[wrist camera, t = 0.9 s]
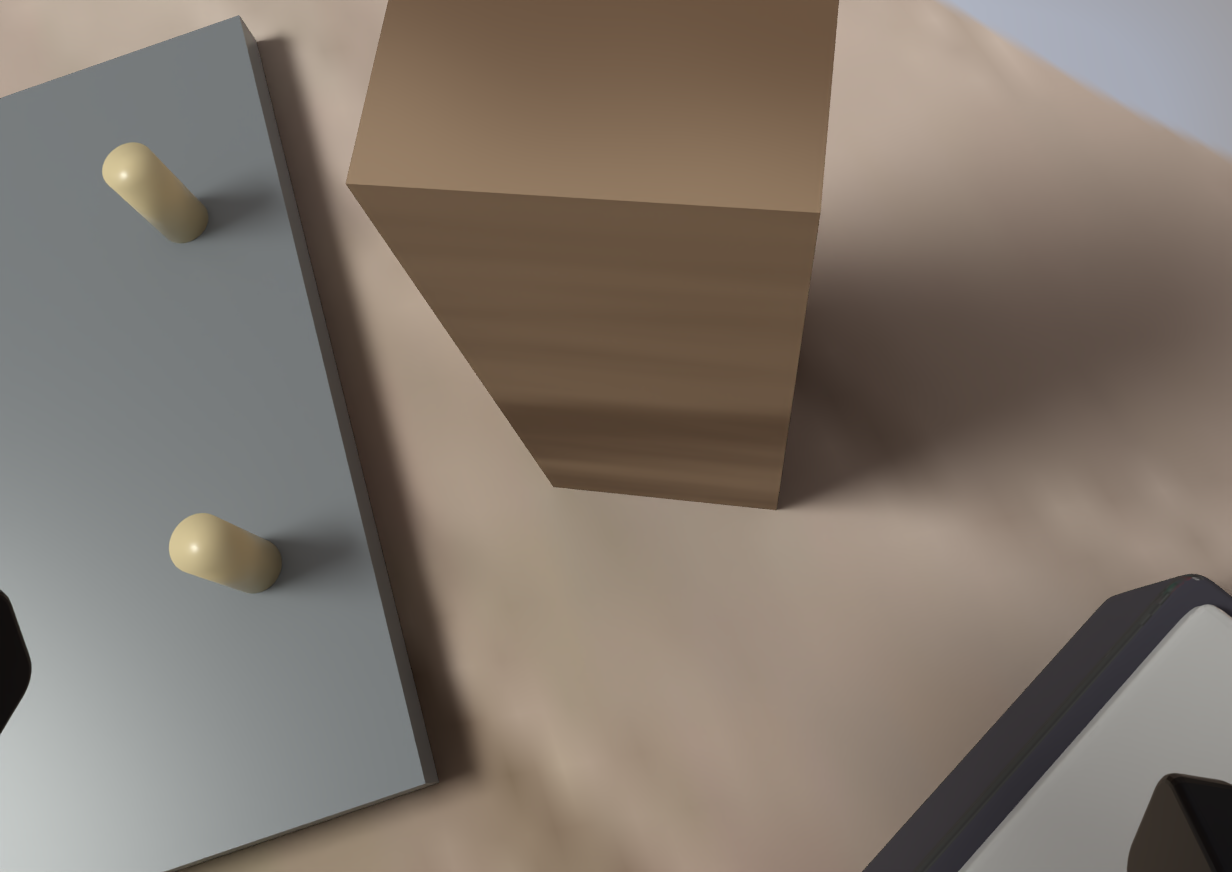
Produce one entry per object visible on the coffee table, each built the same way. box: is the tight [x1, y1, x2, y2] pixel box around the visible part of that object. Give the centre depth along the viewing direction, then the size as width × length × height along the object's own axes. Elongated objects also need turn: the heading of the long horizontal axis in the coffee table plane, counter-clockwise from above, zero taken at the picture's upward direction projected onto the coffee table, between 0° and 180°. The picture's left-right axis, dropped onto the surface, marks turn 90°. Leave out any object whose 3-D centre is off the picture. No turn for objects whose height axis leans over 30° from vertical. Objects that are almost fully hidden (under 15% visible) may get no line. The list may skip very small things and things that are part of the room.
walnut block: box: [346, 0, 839, 510], centre depth 18 cm, size 5×5×13 cm
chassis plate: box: [0, 15, 439, 872], centre depth 23 cm, size 20×14×4 cm
